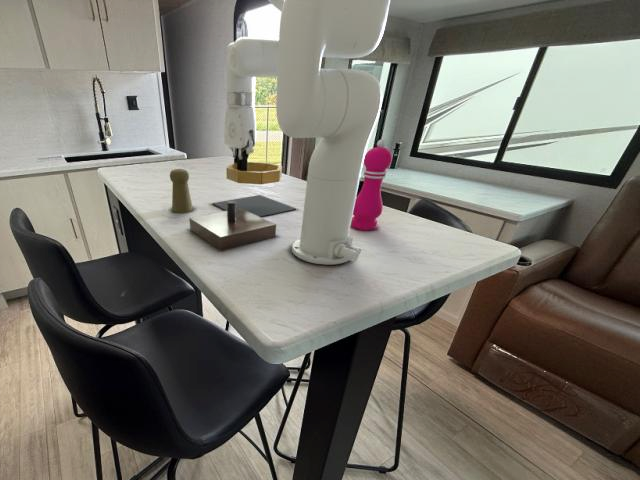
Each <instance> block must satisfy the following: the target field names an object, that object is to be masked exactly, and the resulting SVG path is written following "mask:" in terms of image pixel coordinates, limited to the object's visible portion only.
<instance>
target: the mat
mask: <svg viewBox="0 0 640 480" xmlns="http://www.w3.org/2000/svg"><path fill="white" fill-rule="evenodd" d="M228 201H235V202H236V209H240V208H241V209H243V210H246V211H248V212H250V213H252V214H254V215H257V216H259V217H261V218H264V217H269V216H273V215H278V214H283V213H287V212H292V211H296V210H297V208H295V207H294V206H293V207H292V206H290V205H287V204H284V203H283V202H279V201H276V200H274V199H271V198H269V197H266V196H264V195H261V194H259V195H253V196H247V197H241V198H235V199H230V200H224V201H218V202H213V203H212V205H213V206H215V207H217V208H219V209H220V210H223V211H227V202H228Z"/></svg>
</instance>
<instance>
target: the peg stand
mask: <svg viewBox="0 0 640 480" xmlns="http://www.w3.org/2000/svg"><path fill="white" fill-rule="evenodd" d="M227 201H228V202H227V211H225V210H223V211H219V212H214V213H208V214H203V215H198V216H193V217H189V230H190V231H191V232H193V233H194V234H196V235H197V236H199V237H200V238H202V239H203V240H205V241H206V242H207V243H209V244H210V245H212V246H214V247H215V248H217V249H218V250H220V251H224V250H228V249H232V248H236V247H240V246H244V245H248V244H252V243H255V242H259V241H264V240H267V239H271V238H275V237H276V234H277V223H275V222H272V221H270V220H268V219H265V218H264V217H259V216H257V215H254V214H252V213H250V212H248V211H246V210H243V209H241V208H240V209H236V202H235V201H229V200H227Z"/></svg>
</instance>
